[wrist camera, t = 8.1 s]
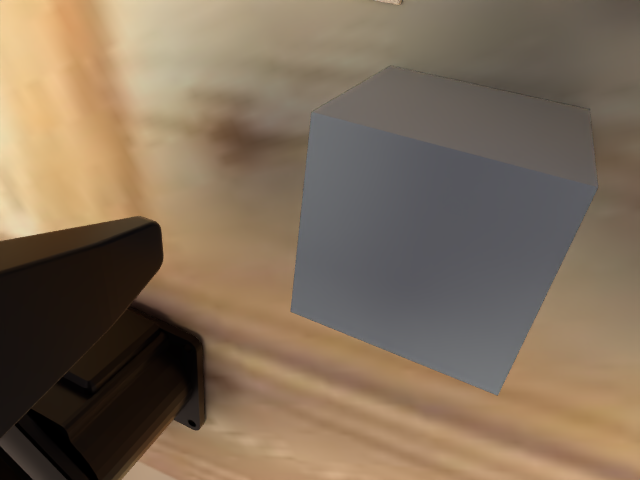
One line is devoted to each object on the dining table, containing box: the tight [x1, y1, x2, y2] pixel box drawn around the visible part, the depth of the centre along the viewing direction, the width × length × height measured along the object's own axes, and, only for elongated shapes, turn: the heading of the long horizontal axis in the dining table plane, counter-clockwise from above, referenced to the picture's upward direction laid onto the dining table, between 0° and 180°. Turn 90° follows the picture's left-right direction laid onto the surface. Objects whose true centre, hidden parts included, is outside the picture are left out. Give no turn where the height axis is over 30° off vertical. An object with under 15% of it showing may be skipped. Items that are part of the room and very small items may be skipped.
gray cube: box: [291, 66, 598, 396], centre depth 12 cm, size 5×5×5 cm
